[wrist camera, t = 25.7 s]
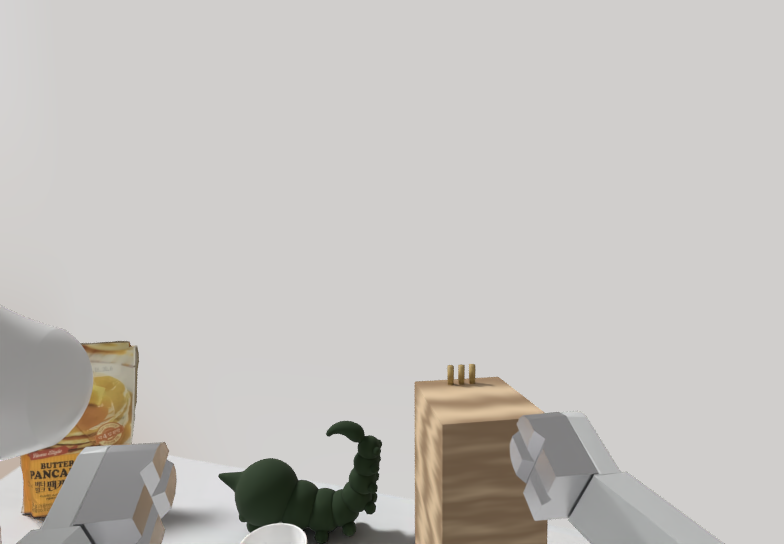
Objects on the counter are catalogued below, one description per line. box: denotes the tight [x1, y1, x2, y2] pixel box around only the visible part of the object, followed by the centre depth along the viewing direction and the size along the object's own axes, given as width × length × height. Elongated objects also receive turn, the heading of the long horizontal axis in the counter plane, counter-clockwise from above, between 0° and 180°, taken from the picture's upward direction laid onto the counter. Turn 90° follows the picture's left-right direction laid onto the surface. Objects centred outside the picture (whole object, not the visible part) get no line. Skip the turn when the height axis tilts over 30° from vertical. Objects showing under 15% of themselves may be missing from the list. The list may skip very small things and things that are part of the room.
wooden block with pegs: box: [415, 364, 547, 544], centre depth 54 cm, size 14×12×28 cm
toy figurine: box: [219, 421, 382, 544], centre depth 67 cm, size 9×19×25 cm
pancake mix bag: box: [20, 341, 139, 517], centre depth 74 cm, size 7×19×28 cm, turn 103°
